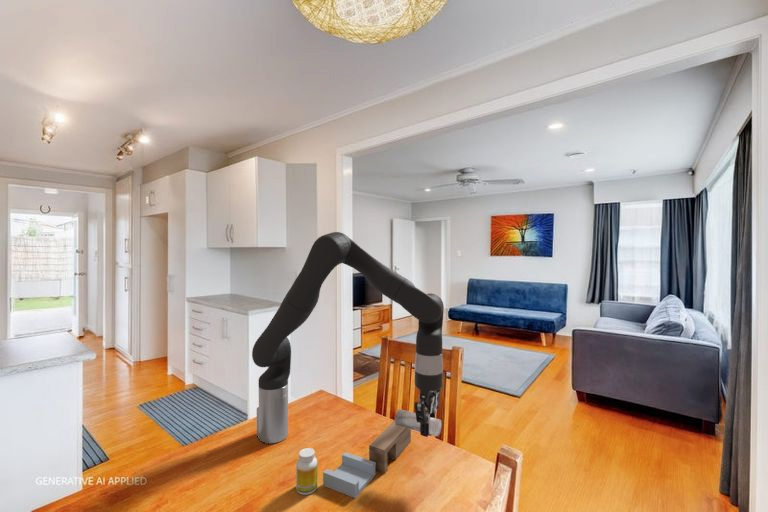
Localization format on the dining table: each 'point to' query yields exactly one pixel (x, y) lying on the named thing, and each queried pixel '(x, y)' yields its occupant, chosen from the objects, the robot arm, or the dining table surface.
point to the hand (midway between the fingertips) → (427, 430)
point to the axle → (410, 422)
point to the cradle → (350, 475)
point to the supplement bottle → (306, 472)
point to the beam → (389, 445)
